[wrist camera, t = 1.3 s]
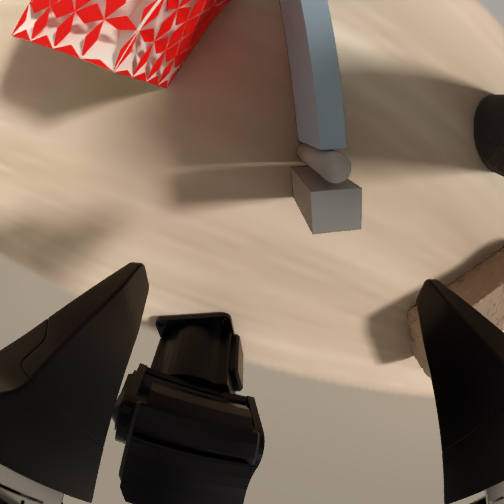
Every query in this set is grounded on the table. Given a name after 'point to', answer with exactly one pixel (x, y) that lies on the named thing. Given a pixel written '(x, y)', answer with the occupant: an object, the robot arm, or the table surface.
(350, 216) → the door frame
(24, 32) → the red white patterned box
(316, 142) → the door
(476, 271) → the brick
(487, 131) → the travel mug
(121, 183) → the table surface
